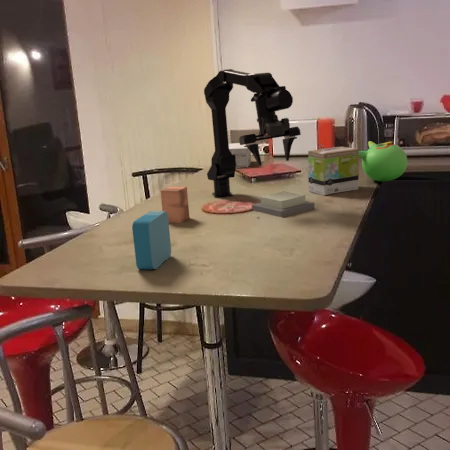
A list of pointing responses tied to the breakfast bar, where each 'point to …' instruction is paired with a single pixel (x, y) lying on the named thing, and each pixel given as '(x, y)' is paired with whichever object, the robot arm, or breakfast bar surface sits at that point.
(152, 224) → the data package
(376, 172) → the green rounded body
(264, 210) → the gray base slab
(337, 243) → the breakfast bar surface
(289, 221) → the breakfast bar surface
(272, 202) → the sage top slab
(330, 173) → the tea box
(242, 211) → the breakfast bar surface
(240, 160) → the supplement box
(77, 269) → the breakfast bar surface
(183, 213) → the terracotta block
